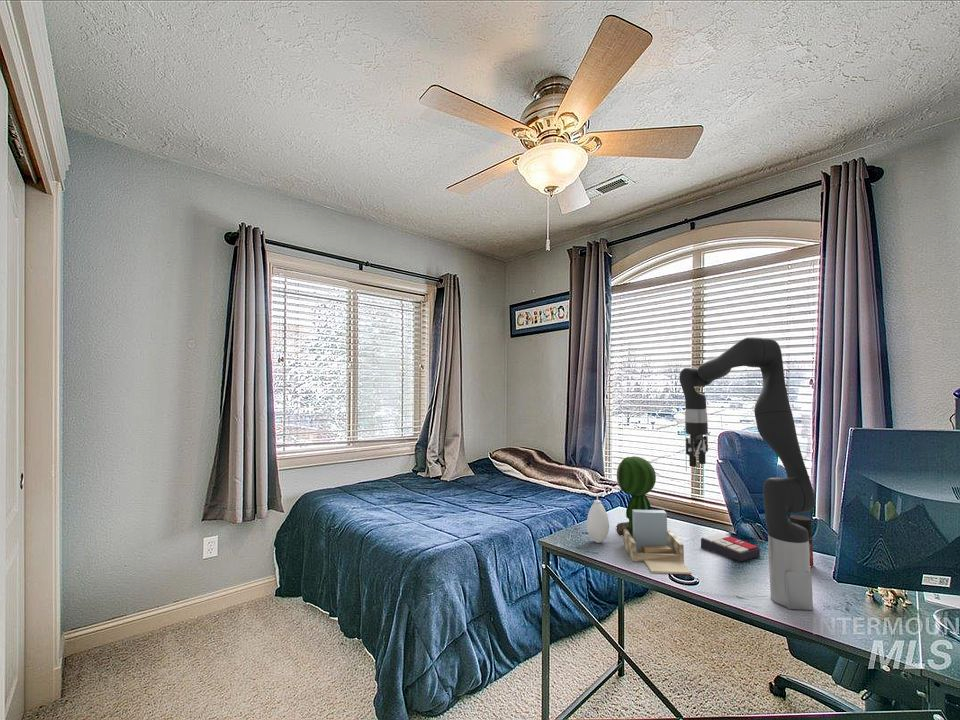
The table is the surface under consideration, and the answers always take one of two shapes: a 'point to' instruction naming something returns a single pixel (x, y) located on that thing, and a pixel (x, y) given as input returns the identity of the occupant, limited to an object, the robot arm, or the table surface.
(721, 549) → the dark flat box
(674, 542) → the rack
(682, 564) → the cork mat
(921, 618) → the table surface
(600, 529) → the white rounded upright piece
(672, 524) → the table surface
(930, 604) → the table surface
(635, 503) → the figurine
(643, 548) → the offcut slab upper
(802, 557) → the robot arm
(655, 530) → the grey rectangular block
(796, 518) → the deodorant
